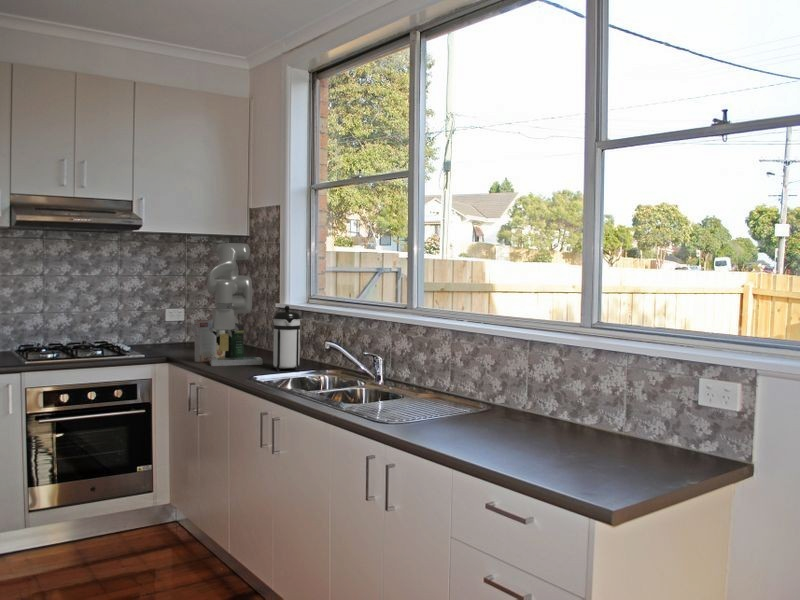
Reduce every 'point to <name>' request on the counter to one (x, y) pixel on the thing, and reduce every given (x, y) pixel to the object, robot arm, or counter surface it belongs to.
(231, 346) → the coffee jar
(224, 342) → the brass post
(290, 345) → the coffee press
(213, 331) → the robot arm
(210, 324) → the cracker box
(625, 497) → the counter surface
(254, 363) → the rail
